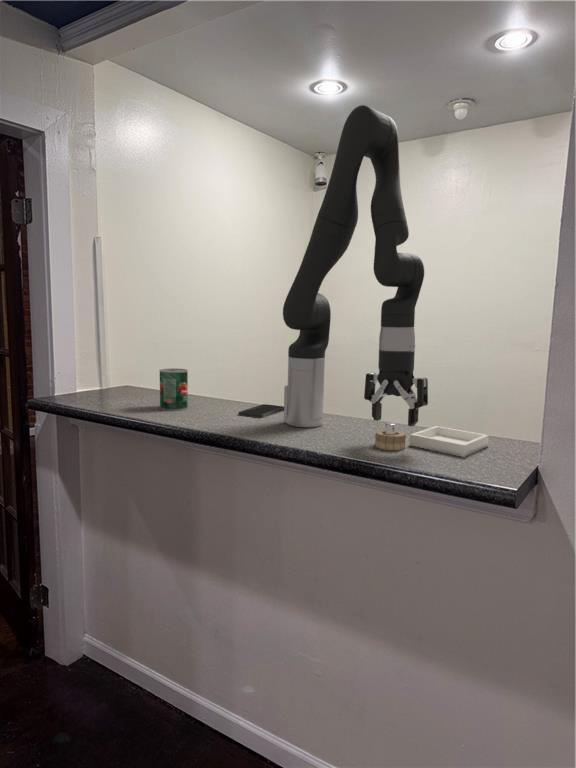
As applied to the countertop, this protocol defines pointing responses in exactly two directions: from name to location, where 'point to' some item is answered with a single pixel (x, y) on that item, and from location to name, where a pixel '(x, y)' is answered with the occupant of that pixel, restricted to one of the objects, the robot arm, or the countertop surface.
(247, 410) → the phone
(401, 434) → the oak ring
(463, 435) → the white tray
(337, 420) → the countertop surface
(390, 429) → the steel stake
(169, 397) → the canned tomato
